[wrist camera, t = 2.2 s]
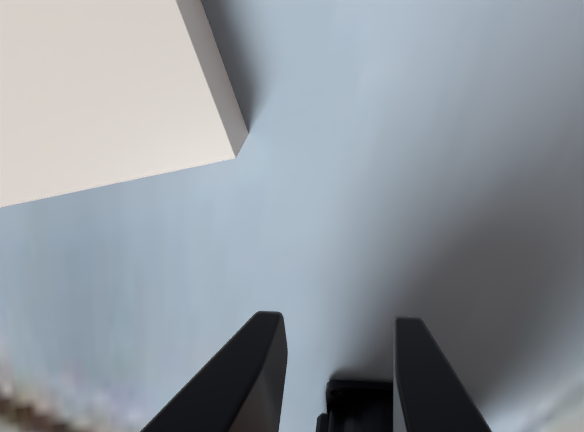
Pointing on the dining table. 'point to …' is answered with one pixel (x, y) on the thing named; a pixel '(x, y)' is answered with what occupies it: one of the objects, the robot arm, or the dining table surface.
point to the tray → (109, 94)
